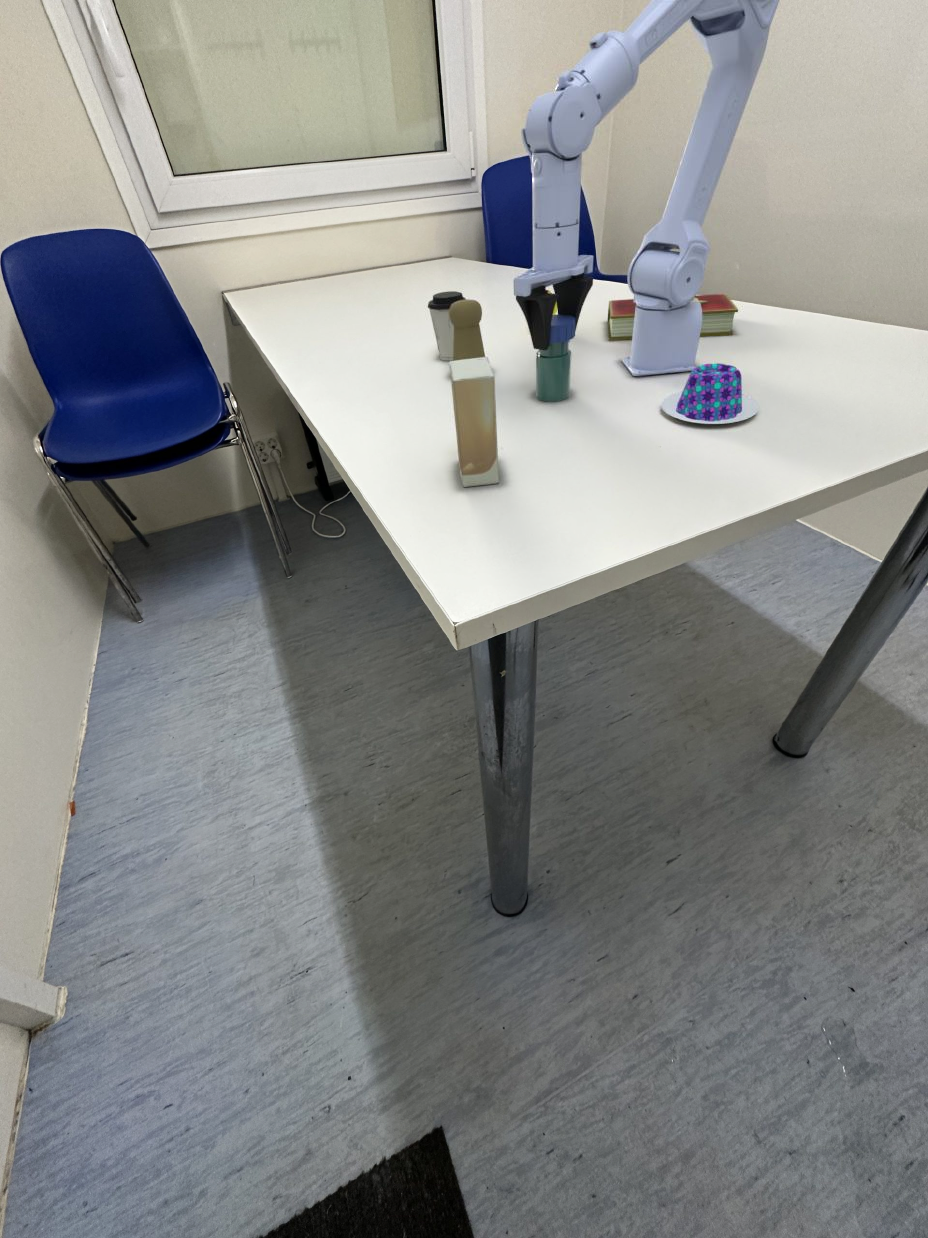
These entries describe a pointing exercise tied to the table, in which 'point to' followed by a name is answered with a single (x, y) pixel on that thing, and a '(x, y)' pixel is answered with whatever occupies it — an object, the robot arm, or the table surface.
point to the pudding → (711, 397)
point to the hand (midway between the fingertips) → (553, 342)
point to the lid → (562, 328)
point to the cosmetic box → (475, 420)
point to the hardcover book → (714, 306)
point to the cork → (466, 329)
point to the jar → (553, 372)
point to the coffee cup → (444, 321)
